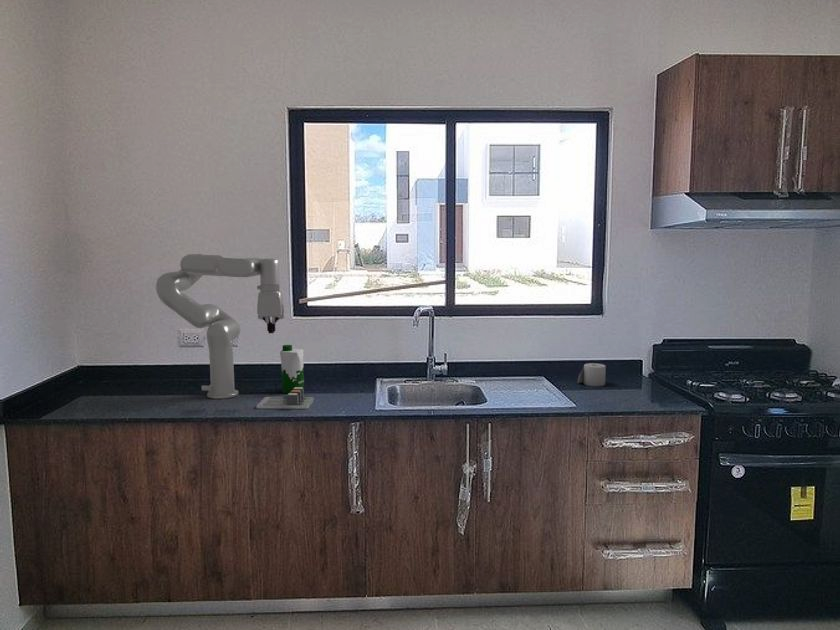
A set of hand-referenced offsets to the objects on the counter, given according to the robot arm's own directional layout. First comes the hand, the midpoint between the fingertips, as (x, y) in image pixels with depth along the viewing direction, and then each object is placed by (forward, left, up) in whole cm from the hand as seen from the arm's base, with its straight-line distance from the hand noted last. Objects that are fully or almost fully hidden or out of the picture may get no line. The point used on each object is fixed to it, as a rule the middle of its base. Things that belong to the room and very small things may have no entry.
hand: (271, 332), depth 259 cm
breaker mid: (+12, -12, -26) cm, 31 cm away
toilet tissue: (+139, +26, -27) cm, 144 cm away
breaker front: (+12, -16, -26) cm, 33 cm away
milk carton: (+6, +10, -27) cm, 30 cm away
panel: (+8, -12, -27) cm, 31 cm away
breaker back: (+12, -7, -26) cm, 29 cm away
